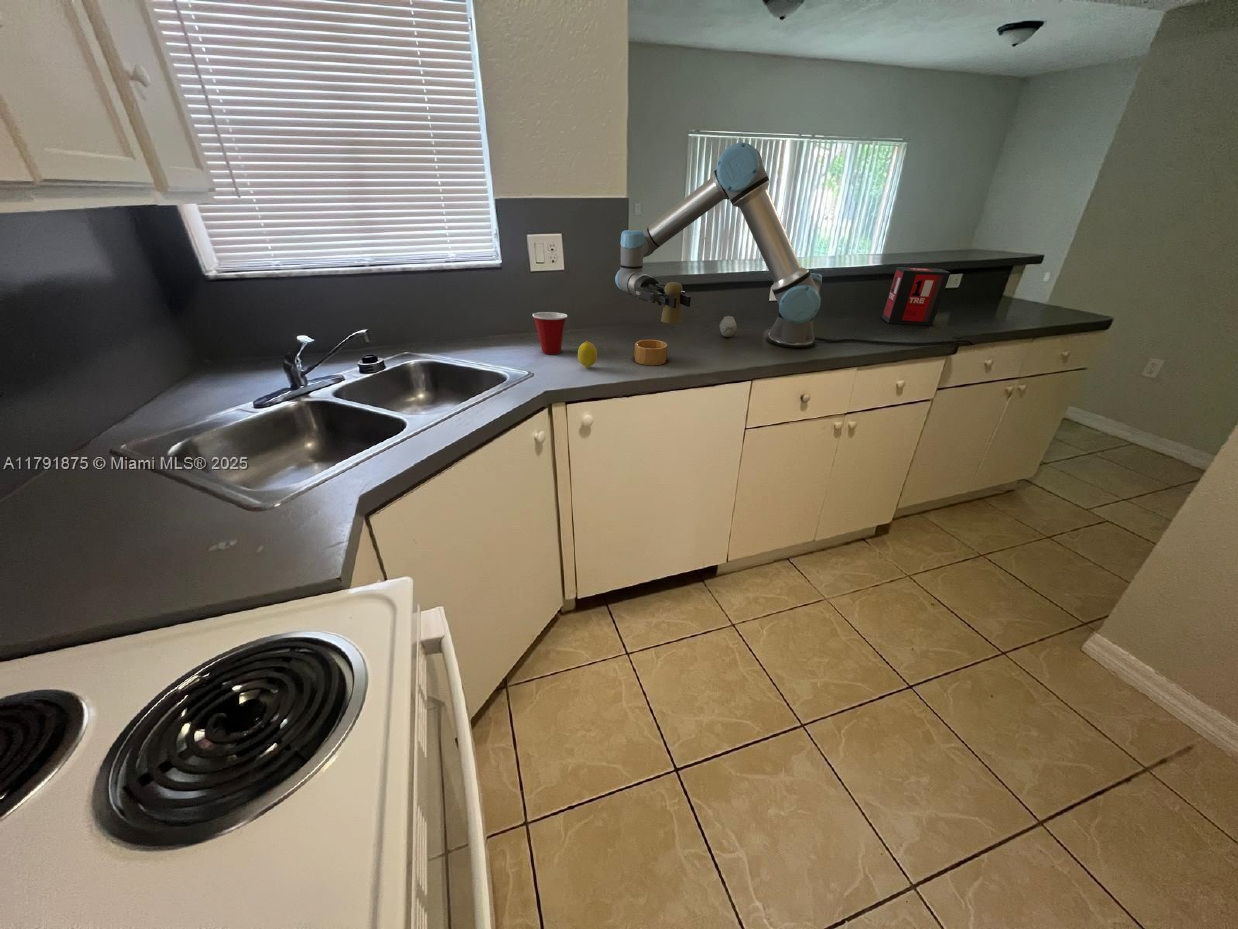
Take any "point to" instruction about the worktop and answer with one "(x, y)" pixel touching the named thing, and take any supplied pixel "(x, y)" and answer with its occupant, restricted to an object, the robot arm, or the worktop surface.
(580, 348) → the lemon
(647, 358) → the wooden cup
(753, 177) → the robot arm
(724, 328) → the crumpled white ball
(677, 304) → the wooden peg doll
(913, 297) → the cleaning product box
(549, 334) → the plastic cup
